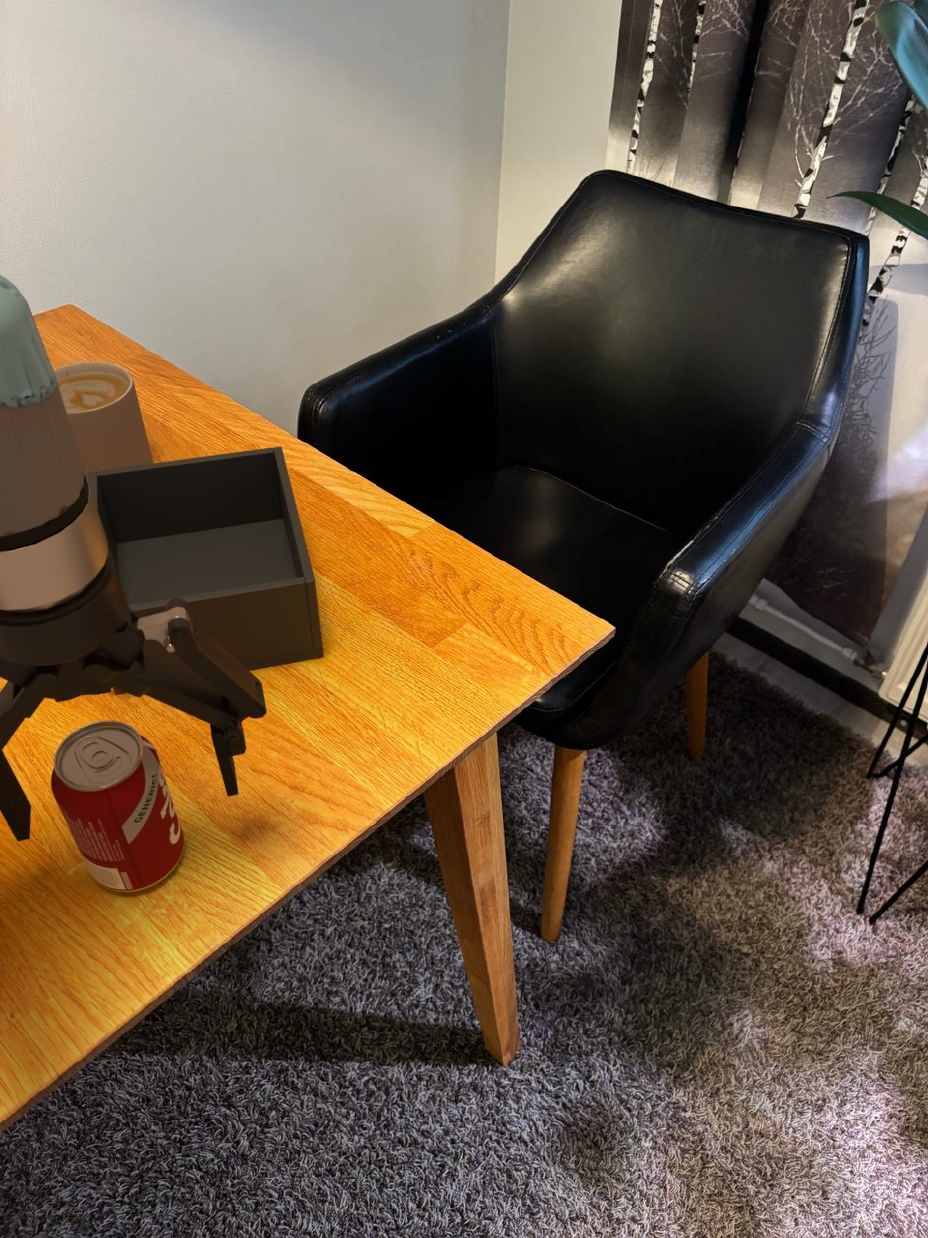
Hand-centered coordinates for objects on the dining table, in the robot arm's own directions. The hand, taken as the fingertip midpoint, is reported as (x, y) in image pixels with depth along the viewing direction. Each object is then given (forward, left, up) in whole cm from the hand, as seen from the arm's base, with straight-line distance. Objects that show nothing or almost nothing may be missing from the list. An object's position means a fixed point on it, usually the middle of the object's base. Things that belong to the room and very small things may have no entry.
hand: (130, 801), depth 66 cm
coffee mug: (-2, +51, -7) cm, 51 cm away
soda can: (-1, 0, -7) cm, 7 cm away
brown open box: (+7, +26, -6) cm, 28 cm away
